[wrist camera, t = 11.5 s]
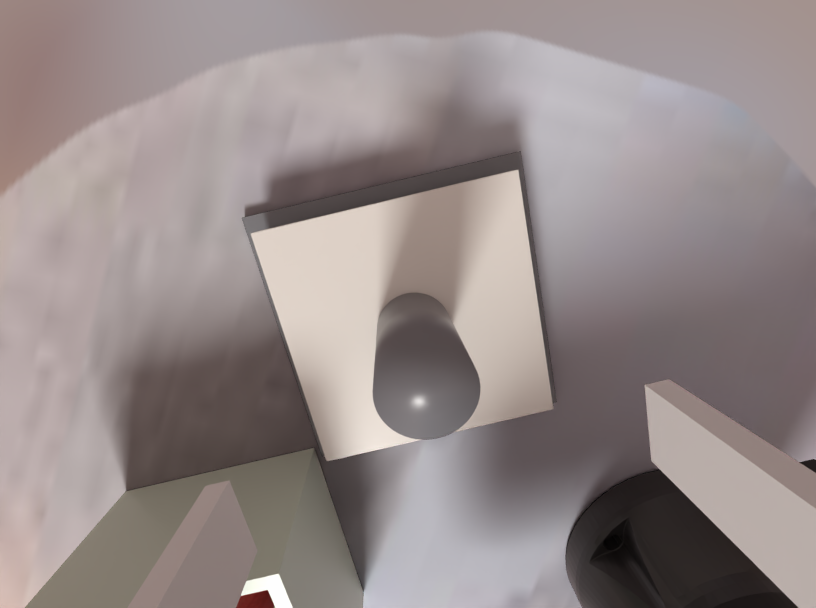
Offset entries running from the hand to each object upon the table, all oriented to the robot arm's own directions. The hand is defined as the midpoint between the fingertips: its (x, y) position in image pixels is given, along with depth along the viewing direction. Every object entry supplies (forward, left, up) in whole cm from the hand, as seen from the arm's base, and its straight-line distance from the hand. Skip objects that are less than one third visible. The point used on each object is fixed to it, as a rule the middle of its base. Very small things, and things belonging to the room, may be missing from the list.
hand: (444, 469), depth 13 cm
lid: (0, 0, -15) cm, 14 cm away
